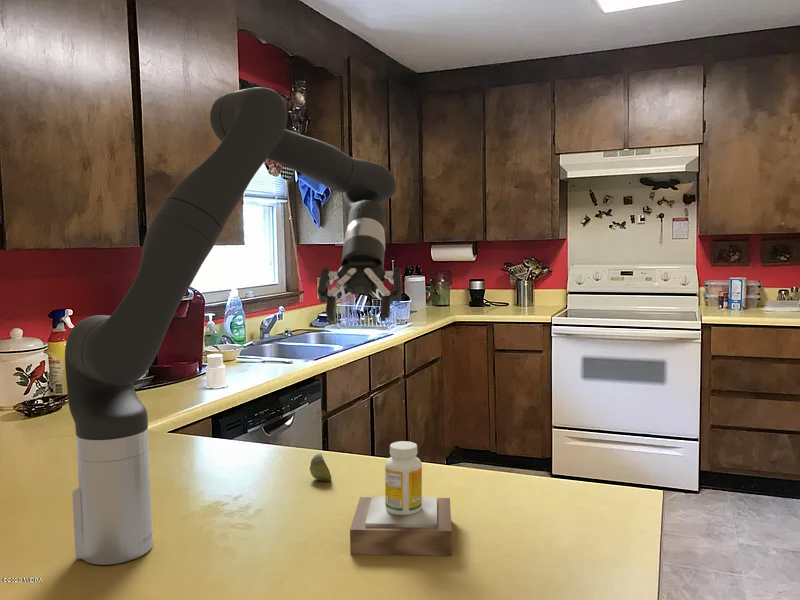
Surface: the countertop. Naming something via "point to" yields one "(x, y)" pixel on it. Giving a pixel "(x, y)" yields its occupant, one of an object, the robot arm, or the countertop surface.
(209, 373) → the white pipe fitting
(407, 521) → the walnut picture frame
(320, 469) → the lime
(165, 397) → the countertop surface
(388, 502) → the supplement bottle
